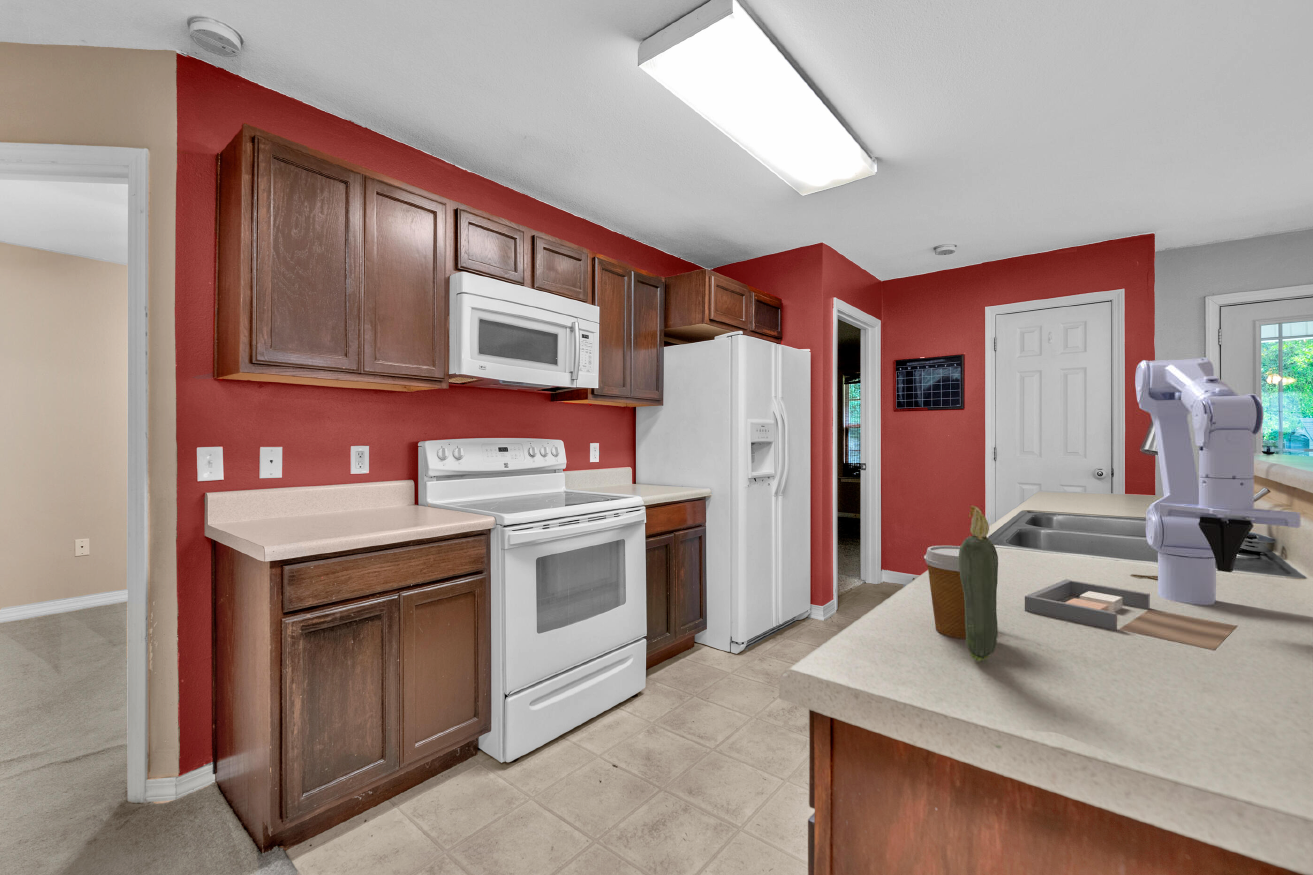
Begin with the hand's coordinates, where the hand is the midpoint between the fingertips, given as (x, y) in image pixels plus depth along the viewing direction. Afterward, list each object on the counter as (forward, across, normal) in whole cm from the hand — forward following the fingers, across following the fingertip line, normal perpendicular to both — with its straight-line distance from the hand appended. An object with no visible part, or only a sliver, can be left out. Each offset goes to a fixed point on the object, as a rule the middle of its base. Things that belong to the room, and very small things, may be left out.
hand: (1225, 570), depth 84 cm
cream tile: (+9, -14, -3) cm, 17 cm away
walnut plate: (+9, -4, -6) cm, 12 cm away
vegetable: (+10, -17, -40) cm, 45 cm away
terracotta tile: (+9, -14, -10) cm, 19 cm away
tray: (+9, -14, -6) cm, 18 cm away
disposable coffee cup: (+10, -24, -30) cm, 40 cm away
